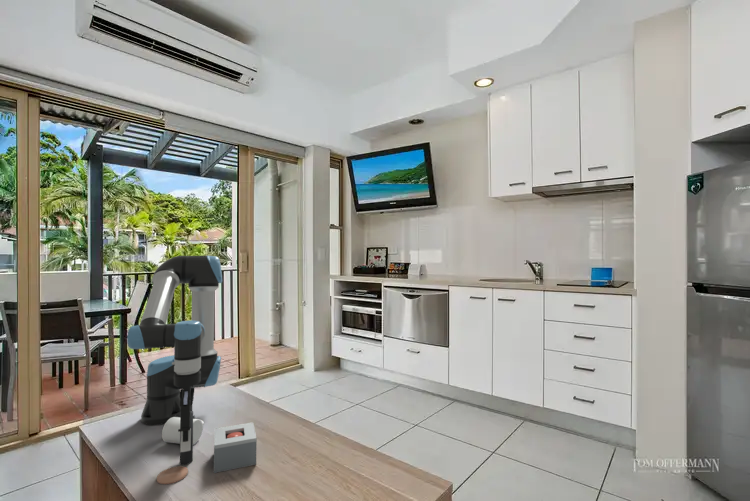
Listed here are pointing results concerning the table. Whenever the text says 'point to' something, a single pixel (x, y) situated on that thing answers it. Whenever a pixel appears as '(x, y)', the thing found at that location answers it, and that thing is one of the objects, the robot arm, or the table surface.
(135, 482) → the table surface
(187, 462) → the rod
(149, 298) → the robot arm
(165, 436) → the mug
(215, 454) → the square hole box
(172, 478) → the coaster
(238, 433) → the button
